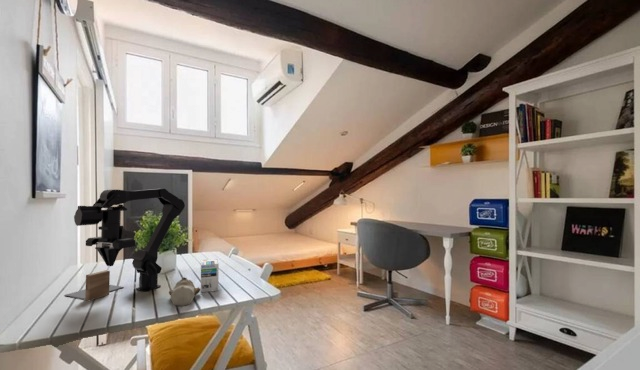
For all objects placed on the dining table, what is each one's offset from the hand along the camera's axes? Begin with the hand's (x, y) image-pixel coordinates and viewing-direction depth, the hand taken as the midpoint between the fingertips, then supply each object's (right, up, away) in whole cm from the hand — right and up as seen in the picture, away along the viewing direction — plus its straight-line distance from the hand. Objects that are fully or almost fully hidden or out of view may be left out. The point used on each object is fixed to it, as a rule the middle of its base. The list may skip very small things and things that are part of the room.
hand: (110, 265), depth 106 cm
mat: (-11, -12, +8) cm, 18 cm away
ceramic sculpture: (+28, -12, -2) cm, 31 cm away
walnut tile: (-6, -12, +2) cm, 14 cm away
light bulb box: (+32, -13, +12) cm, 36 cm away
